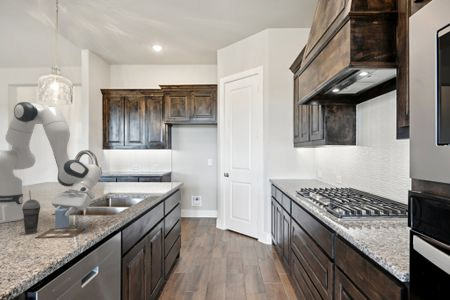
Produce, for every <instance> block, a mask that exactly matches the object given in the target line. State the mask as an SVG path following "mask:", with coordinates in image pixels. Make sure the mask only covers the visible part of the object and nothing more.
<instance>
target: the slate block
mask: <svg viewBox="0 0 450 300" xmlns="http://www.w3.org/2000/svg"><path fill="white" fill-rule="evenodd" d="M68 210H69V209H64V208H63V209H59V210H57V209H55V210H54V228H55V229H60V228H68V227H69V226H70V215H69V216H68V217H65V216H64V215H63V214H64V213H65V212H67V211H68Z"/></svg>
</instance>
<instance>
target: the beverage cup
mask: <svg viewBox="0 0 450 300" xmlns="http://www.w3.org/2000/svg"><path fill="white" fill-rule="evenodd" d="M28 194H29V199H28V200H26V201H25V202H23V204H22V206H23V208H22V210H23V215H24V219H23V227H24V232H25V233H24V234H27V235H28V234H29V235H30V234H31V235H32V234H35V233H37V232H38V225H39V217H40V212H41V208H42V207H41V204H40V201H38V200H37V199H32V195H31V190H28Z"/></svg>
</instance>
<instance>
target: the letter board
mask: <svg viewBox="0 0 450 300" xmlns="http://www.w3.org/2000/svg"><path fill="white" fill-rule="evenodd" d="M84 230H86V227H64V228H50V229H47V230H45V231H44V232H42V233H40V234H38V235H36V236H35V237H34V238H35V239H57V238H58V239H60V238H61V239H62V238H75V237H76V236H78V235H79V234H80V233H82V232H83V231H84Z"/></svg>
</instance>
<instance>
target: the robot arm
mask: <svg viewBox="0 0 450 300" xmlns="http://www.w3.org/2000/svg"><path fill="white" fill-rule="evenodd" d="M36 125H42V128H43V130H44V133H45V135H46V138H47V139H48V142H49V144H50V147H51V150H52V153H53V157H54V159H55V164H56V167H57V171H58V173H57V182H58V183H59V184H60V185H61V186H64V187H69V189H68V190H65V191H63V192H60V193H59V194H58V195H57V196H56V197H55V198H54V199H53V200H52V201H51V205H52V206H53V207H54V208H56V210H59V209H69V210H68V211H67V212H65V213H64V214H63V215H64V216H65V217H68V216H69V217H70V215H71V214H72V213H74V212H75V211H86V210H87V209H88V207H89V206H90V205H91V203H92V200H94V199H95V197H96V196H95V194H94V193H93V192H92V189H93V188H94V187H95V186H96V184H97V183H98V182H99V180H100V178H101V177H102V170H101V167H99V166H98V165H96V164H93V163H91V164H89V163H84V162H81V161H79V160H77V159H70V156H69V154H68V146H69V145H68V144H69V141H70V136H71V135H70V134H71V133H70V128H69V125H68V122H67V120H66V118H65V116H64V114H63V113H62V111H61V109H59V108H58V107H56V106H52V105H46V104H44V103H43V104H42V103H36V102H28V101H20V102H18V103H16V105H15V106H14V108H13V116H12V118H11V121H10V122H9V125H8V127H7V128H8V129H7V131H6V135H5V141H6V142H7V143H8V144H9V145H10V146H11V149H10V150H2V149H1V150H0V224H3V223H9V222H11V223H12V222H17V221H20V220H24V215H23V210H22V208H23V204H24V194H23V180H22V179H21V178H20V177H18V176H16V175H15V174H14V170H15V171H18V170H26V169H29V168H32V167H33V166H34V165H35V163H36V155H34V153H33V152H32V151H31V149H30V143H31V139H32V135H33V133H34V129H35V126H36Z"/></svg>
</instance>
